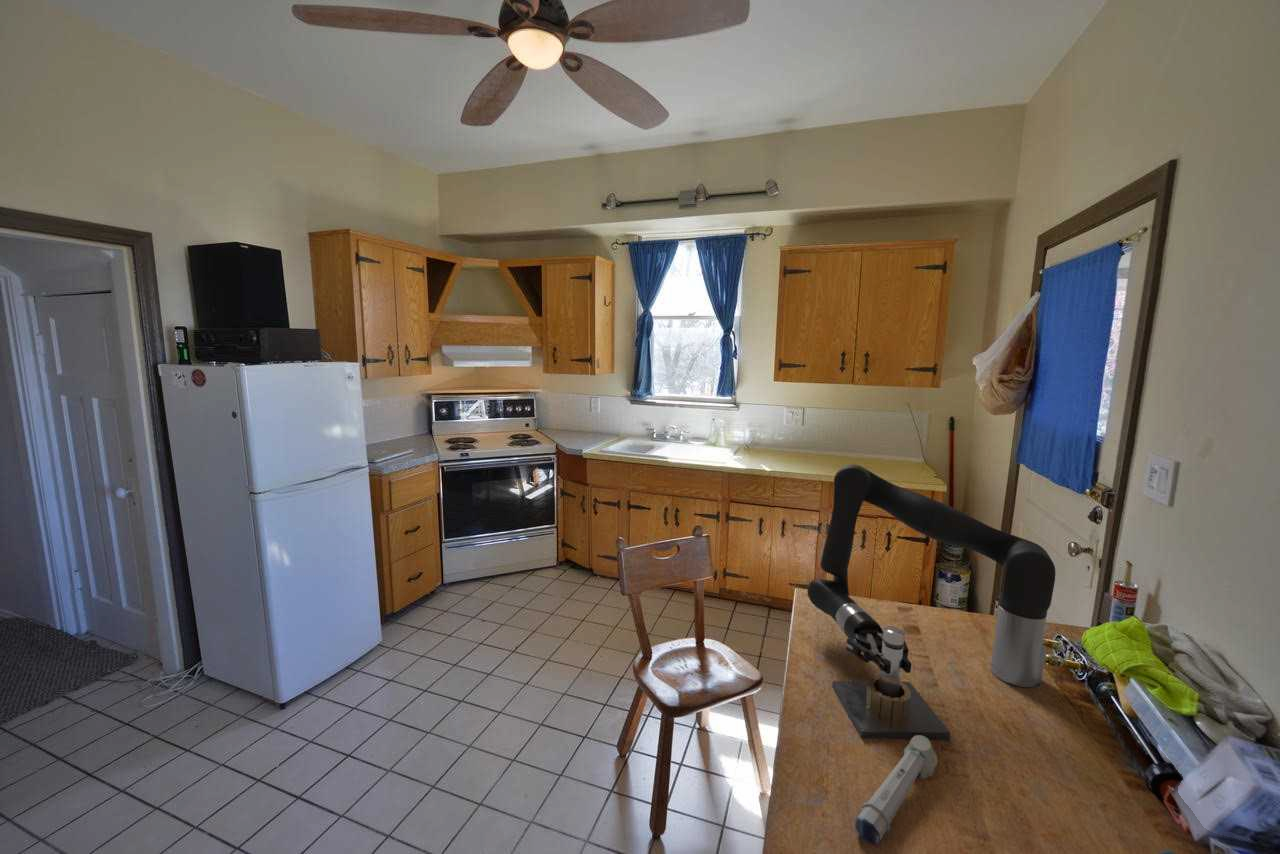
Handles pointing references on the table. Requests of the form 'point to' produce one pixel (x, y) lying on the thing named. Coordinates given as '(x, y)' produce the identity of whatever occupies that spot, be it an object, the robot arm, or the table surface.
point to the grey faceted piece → (896, 789)
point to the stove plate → (885, 724)
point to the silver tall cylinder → (892, 661)
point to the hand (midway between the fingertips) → (898, 669)
